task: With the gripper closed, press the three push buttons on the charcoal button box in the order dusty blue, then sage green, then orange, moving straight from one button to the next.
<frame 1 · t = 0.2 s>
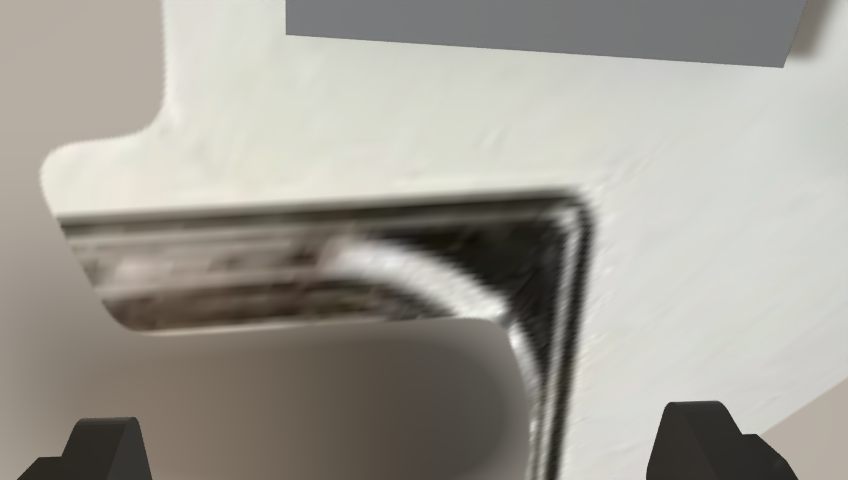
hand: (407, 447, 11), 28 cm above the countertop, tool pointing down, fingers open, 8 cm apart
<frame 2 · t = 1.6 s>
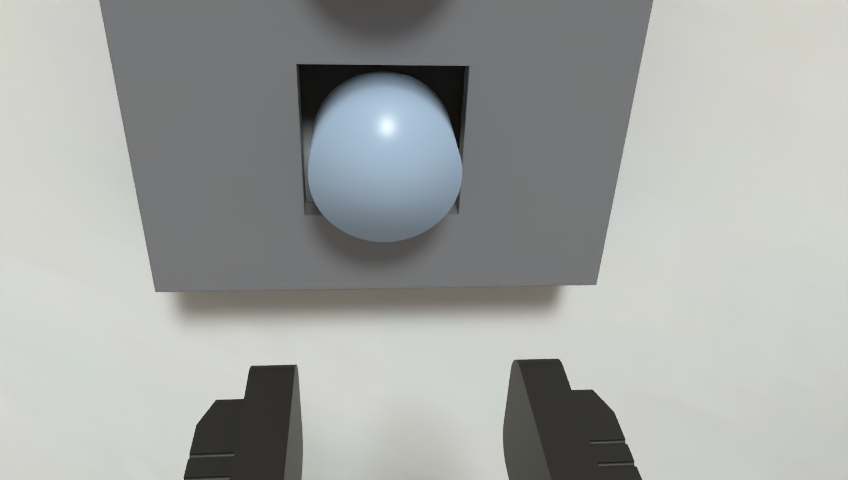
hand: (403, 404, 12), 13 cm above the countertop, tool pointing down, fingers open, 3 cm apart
blue button: (384, 156, 20), point 4 cm above the countertop, slide at 0.0 cm
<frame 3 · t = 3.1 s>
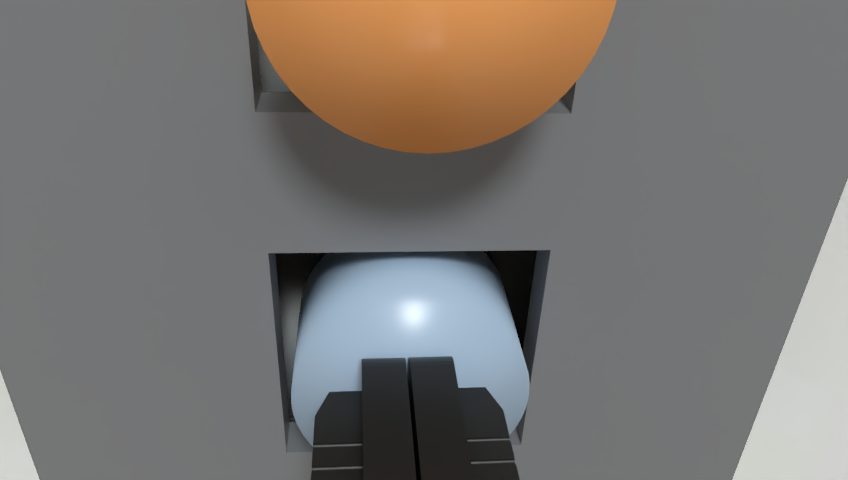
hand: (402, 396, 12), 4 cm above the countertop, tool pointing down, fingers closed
blue button: (407, 351, 13), point 3 cm above the countertop, slide at 1.0 cm, touching gripper
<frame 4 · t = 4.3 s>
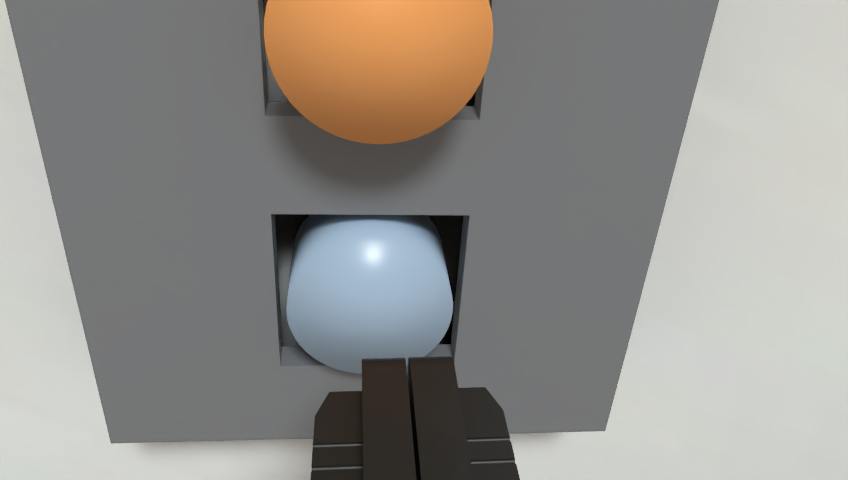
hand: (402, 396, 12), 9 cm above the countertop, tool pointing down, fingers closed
blue button: (369, 282, 19), point 2 cm above the countertop, slide at 1.3 cm
orange button: (377, 20, 14), point 4 cm above the countertop, slide at 0.0 cm
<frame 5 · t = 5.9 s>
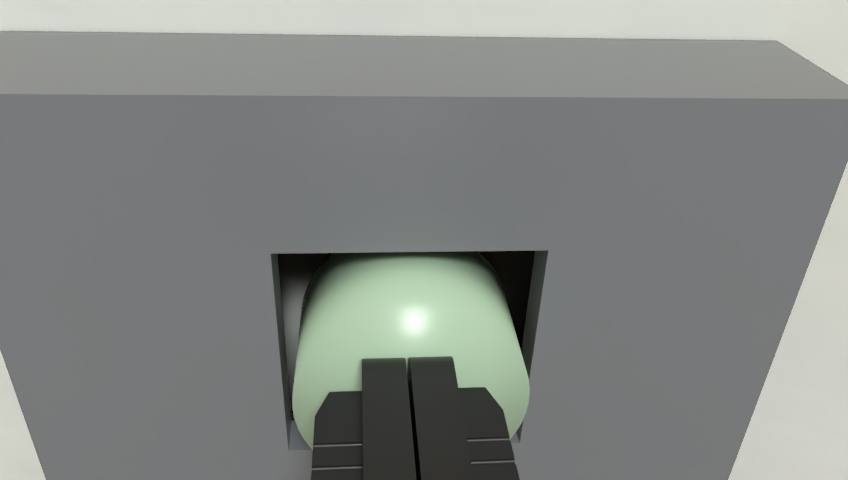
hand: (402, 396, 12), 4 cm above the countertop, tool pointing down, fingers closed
green button: (408, 356, 13), point 3 cm above the countertop, slide at 0.9 cm, touching gripper
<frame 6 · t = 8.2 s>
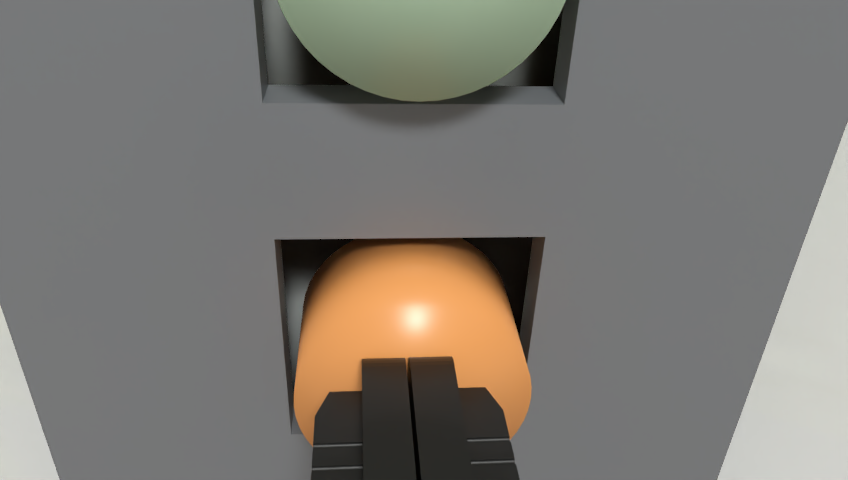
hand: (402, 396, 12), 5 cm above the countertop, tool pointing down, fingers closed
button box: (400, 254, 16), on the countertop
orange button: (409, 354, 13), point 3 cm above the countertop, slide at 0.5 cm, touching gripper
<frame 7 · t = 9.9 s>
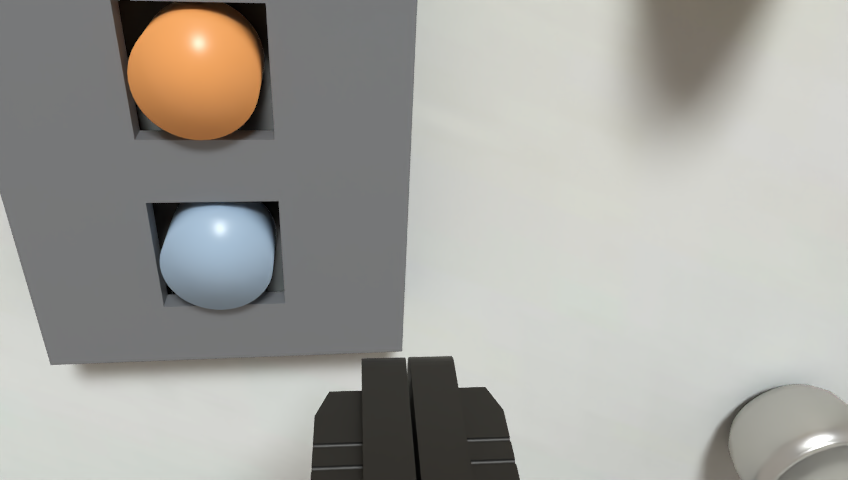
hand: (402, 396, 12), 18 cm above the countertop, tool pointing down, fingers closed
blue button: (220, 248, 28), point 2 cm above the countertop, slide at 1.3 cm
button box: (209, 45, 26), on the countertop
plastic bottle: (771, 409, 40), on the countertop
orange button: (199, 68, 24), point 2 cm above the countertop, slide at 1.3 cm
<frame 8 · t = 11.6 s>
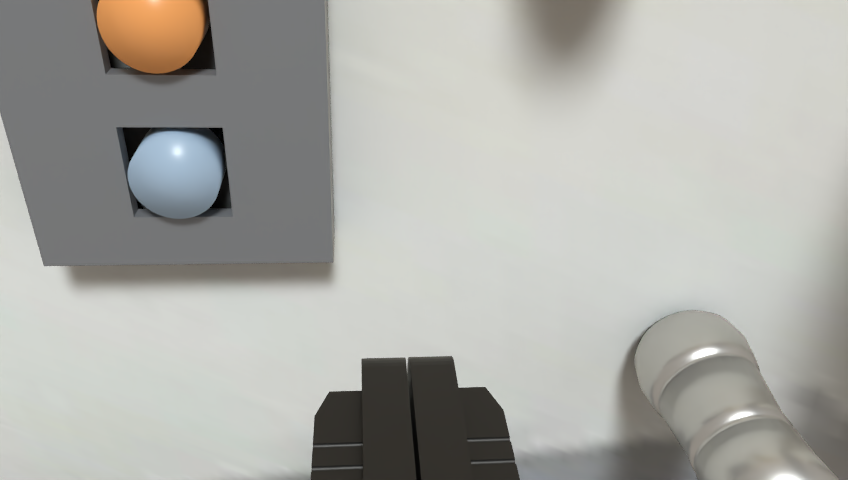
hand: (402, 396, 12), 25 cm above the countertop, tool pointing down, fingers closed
blue button: (179, 168, 34), point 2 cm above the countertop, slide at 1.3 cm
button box: (168, 1, 33), on the countertop
plastic bottle: (676, 335, 46), on the countertop
orange button: (155, 17, 30), point 2 cm above the countertop, slide at 1.3 cm
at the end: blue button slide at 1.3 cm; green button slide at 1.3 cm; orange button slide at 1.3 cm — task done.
